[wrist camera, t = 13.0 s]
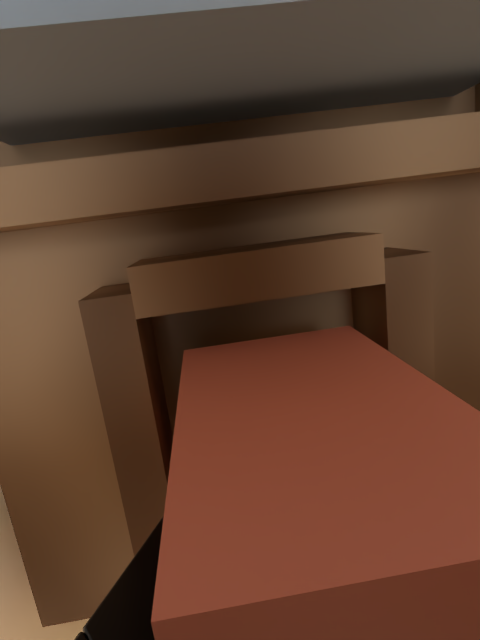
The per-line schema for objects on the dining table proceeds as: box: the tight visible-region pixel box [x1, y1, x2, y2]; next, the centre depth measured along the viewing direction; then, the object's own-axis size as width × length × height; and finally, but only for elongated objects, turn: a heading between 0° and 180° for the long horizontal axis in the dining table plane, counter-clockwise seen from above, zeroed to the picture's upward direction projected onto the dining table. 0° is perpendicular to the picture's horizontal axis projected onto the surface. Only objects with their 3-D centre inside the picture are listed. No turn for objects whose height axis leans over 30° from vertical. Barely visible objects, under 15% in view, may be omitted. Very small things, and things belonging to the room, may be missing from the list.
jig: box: [0, 83, 480, 627], centre depth 9 cm, size 14×20×3 cm
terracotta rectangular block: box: [151, 326, 480, 640], centre depth 6 cm, size 4×6×6 cm, turn 7°
